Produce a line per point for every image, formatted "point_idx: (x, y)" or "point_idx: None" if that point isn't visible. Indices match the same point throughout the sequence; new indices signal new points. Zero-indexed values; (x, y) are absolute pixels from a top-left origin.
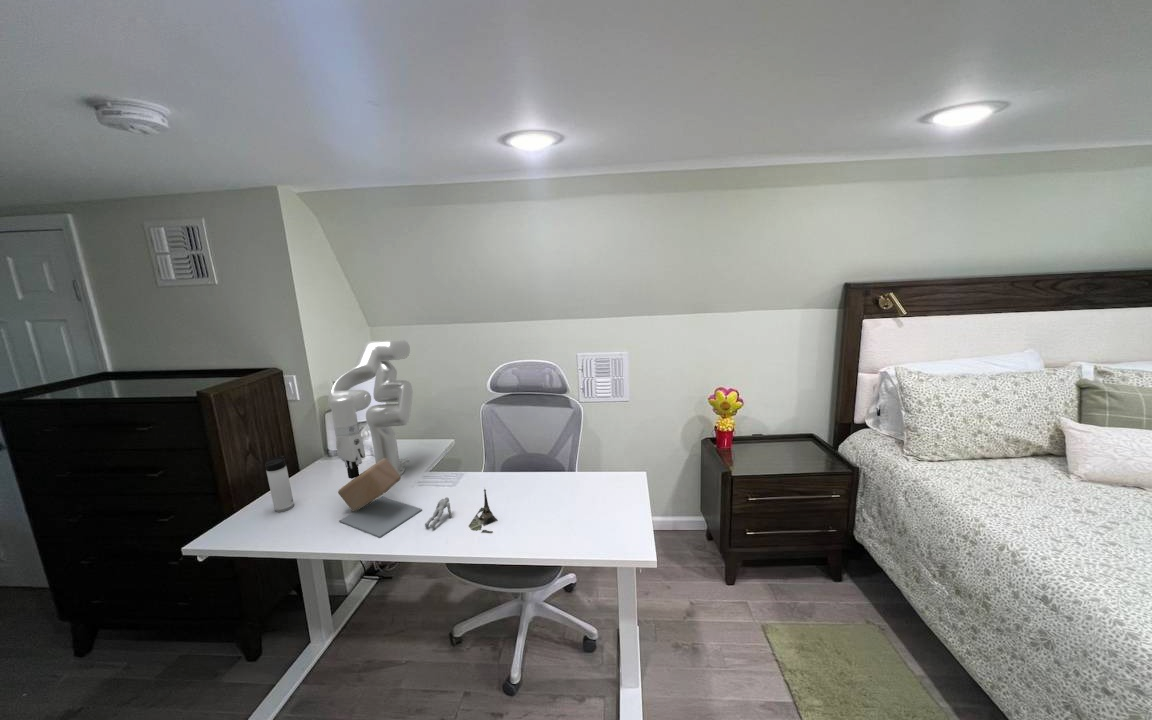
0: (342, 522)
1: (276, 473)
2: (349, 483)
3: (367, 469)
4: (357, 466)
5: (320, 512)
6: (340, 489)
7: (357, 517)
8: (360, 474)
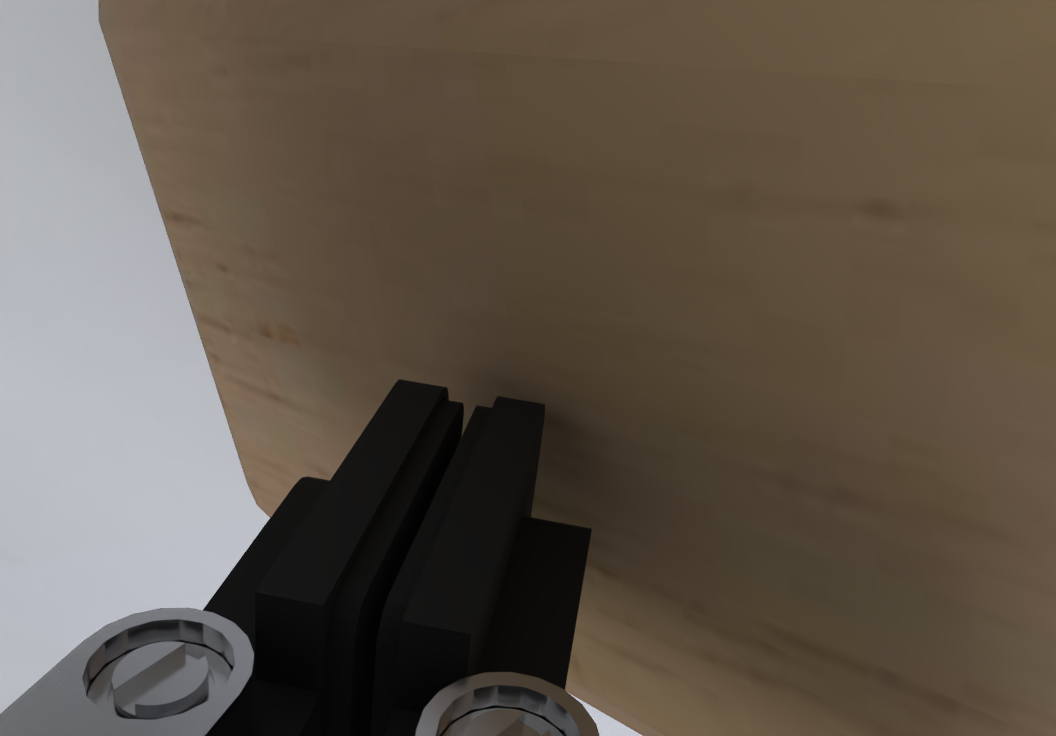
0: None
1: None
2: (603, 710)
3: (826, 299)
4: (475, 618)
5: (122, 395)
6: None
7: None
8: (582, 387)
